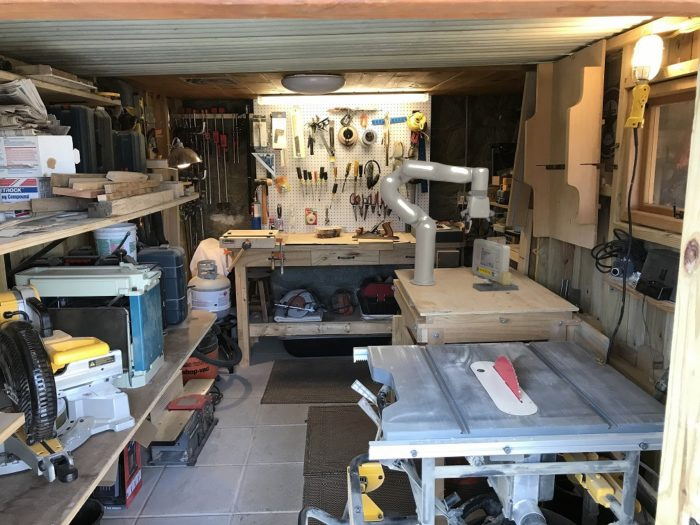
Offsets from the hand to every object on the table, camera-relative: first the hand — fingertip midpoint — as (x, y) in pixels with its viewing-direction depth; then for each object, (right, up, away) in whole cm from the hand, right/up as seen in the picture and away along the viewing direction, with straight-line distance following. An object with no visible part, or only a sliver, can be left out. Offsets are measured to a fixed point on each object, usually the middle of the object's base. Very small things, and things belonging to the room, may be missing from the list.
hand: (476, 229), depth 264 cm
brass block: (+14, -29, +3) cm, 32 cm away
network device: (+11, -26, +19) cm, 34 cm away
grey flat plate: (+9, -29, +2) cm, 30 cm away
